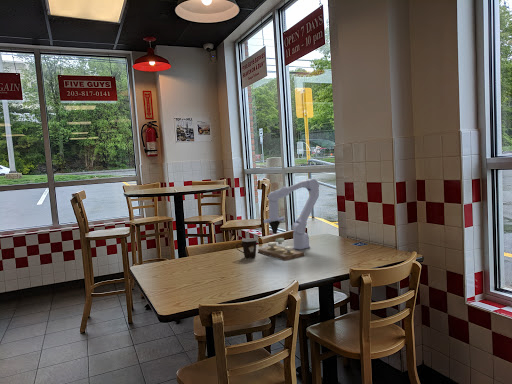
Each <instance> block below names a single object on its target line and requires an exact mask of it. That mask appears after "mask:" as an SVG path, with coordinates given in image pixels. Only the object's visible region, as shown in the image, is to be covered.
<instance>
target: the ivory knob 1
mask: <svg viewBox="0 0 512 384" xmlns="http://www.w3.org/2000/svg"><path fill="white" fill-rule="evenodd" d="M276 245H277V242H276V241H269V242H267V247H271V248H274V246H276Z"/></svg>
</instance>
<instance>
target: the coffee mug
mask: <svg viewBox="0 0 512 384" xmlns="http://www.w3.org/2000/svg"><path fill="white" fill-rule="evenodd" d="M257 241H258V240H257V238H250V237H249V238H244V239H242V240H241V242H239V243H237V244H236V246H235V248H236V250H238V251H239V252H241V253H242V254H243V255H244V258H245V259H254V258H256V257H257V256H256V255H257ZM238 245H241V246H242V249H243V250H241V249H239V248H238Z"/></svg>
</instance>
